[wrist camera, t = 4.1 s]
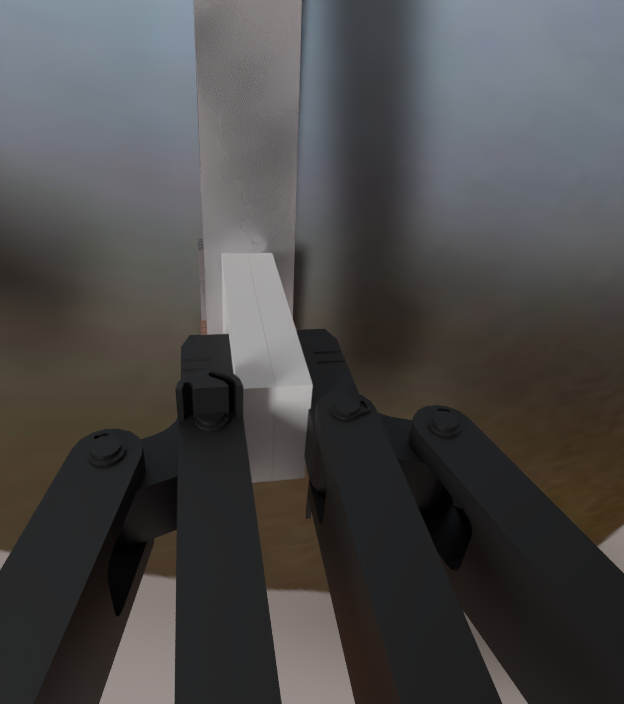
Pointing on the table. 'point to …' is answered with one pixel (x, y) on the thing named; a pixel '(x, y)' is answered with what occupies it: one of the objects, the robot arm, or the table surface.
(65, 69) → the table surface
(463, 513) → the robot arm
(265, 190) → the bar
